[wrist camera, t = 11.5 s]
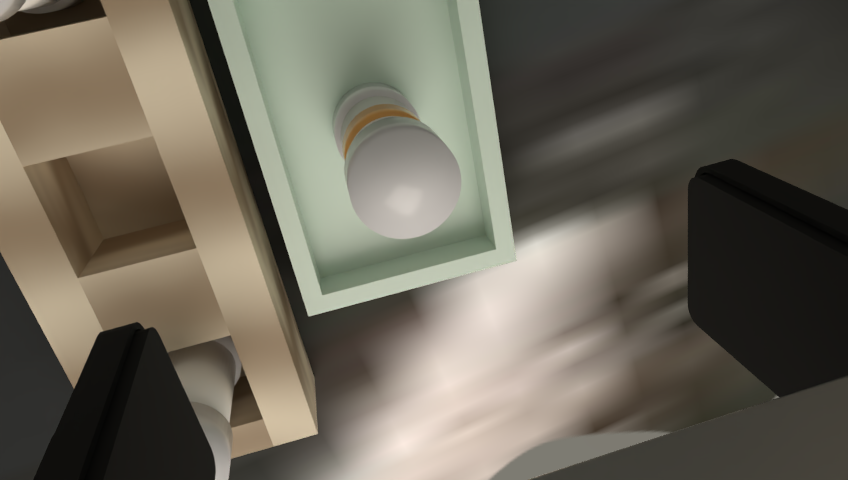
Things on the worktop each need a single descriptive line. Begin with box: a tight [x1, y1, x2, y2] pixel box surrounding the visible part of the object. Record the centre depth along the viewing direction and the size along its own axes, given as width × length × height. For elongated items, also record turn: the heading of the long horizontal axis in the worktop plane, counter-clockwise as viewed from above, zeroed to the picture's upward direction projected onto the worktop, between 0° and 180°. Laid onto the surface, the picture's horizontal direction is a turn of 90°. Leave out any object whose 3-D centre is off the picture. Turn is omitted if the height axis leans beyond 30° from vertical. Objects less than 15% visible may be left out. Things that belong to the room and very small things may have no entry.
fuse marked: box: [332, 82, 461, 239], centre depth 22 cm, size 3×3×8 cm
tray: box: [207, 0, 516, 316], centre depth 25 cm, size 14×9×2 cm, turn 11°
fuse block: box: [0, 0, 318, 458], centre depth 23 cm, size 23×8×4 cm, turn 11°
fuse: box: [167, 335, 242, 480], centre depth 25 cm, size 3×3×8 cm
